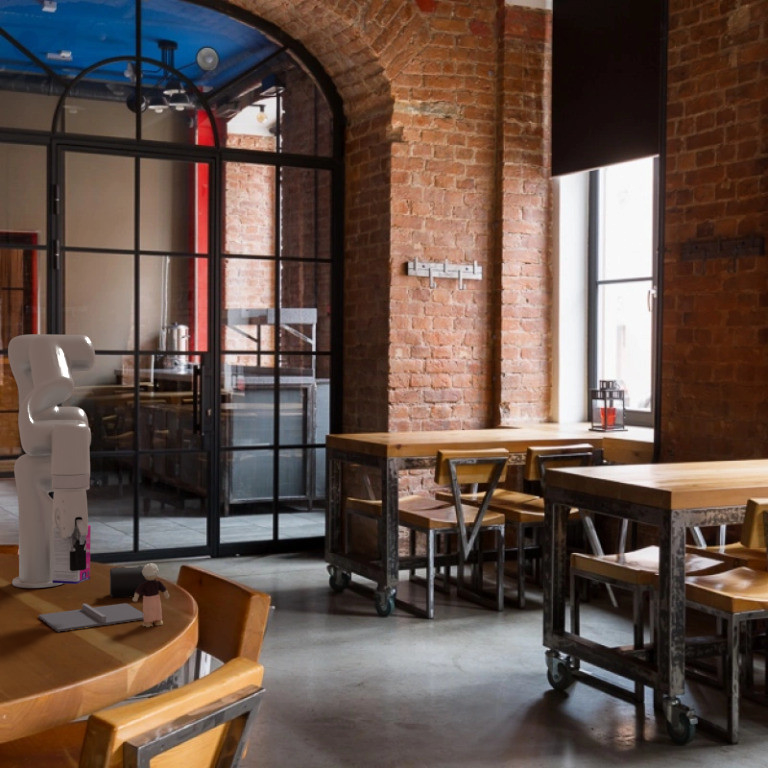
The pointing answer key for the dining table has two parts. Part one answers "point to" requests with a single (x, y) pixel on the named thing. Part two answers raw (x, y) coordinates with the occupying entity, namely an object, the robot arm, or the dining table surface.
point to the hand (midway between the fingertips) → (71, 566)
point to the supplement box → (68, 560)
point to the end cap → (125, 581)
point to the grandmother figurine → (151, 596)
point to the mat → (91, 616)
